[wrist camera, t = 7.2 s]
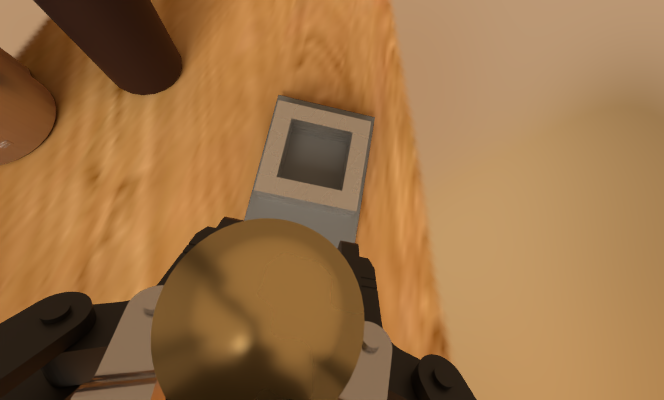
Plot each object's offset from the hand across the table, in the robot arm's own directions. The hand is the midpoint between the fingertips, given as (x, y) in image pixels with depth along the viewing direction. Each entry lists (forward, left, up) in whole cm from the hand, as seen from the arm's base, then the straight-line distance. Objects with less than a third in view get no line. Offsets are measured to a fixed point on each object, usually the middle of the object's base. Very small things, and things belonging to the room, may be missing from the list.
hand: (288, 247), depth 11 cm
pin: (+2, -1, -4) cm, 5 cm away
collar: (-8, +5, -13) cm, 16 cm away
